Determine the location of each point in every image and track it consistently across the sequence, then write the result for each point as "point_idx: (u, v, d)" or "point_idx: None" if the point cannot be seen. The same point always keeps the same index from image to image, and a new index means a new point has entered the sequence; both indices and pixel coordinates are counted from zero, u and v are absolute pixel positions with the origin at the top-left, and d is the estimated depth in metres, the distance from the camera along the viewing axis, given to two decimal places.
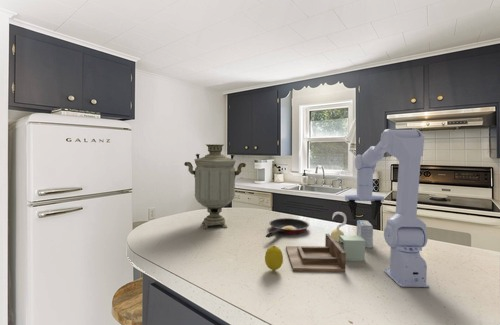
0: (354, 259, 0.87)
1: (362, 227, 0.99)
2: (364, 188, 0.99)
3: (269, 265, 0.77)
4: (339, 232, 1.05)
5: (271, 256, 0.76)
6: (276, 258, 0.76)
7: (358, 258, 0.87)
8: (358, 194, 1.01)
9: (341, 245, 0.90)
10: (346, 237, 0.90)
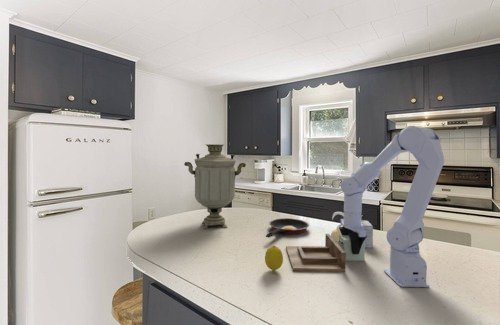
0: (354, 259, 0.87)
1: None
2: None
3: (269, 265, 0.77)
4: (339, 232, 1.05)
5: (271, 256, 0.76)
6: (276, 258, 0.76)
7: (358, 258, 0.87)
8: None
9: (341, 245, 0.90)
10: (346, 237, 0.90)
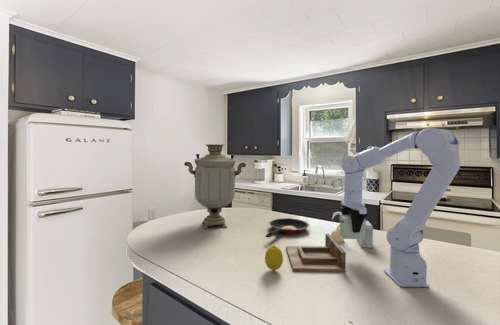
0: (355, 237, 0.87)
1: None
2: (344, 193, 0.89)
3: (269, 265, 0.77)
4: (339, 232, 1.05)
5: (271, 256, 0.76)
6: (276, 258, 0.76)
7: (359, 236, 0.87)
8: None
9: (342, 224, 0.89)
10: (347, 216, 0.89)
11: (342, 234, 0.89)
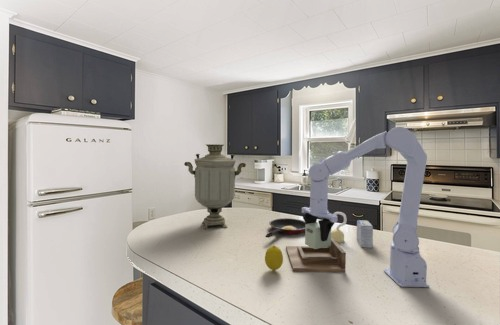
0: (323, 246, 0.85)
1: (362, 227, 0.99)
2: (310, 201, 0.86)
3: (269, 265, 0.77)
4: (339, 232, 1.05)
5: (271, 256, 0.76)
6: (276, 258, 0.76)
7: (326, 244, 0.86)
8: None
9: (309, 234, 0.86)
10: (313, 225, 0.87)
11: (310, 244, 0.86)
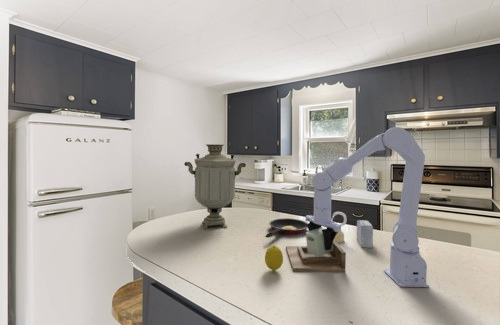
0: (325, 252, 0.85)
1: (362, 227, 0.99)
2: (314, 210, 0.87)
3: (269, 265, 0.77)
4: (339, 232, 1.05)
5: (271, 256, 0.76)
6: (276, 258, 0.76)
7: (328, 250, 0.86)
8: None
9: (311, 242, 0.85)
10: (313, 232, 0.86)
11: (313, 252, 0.85)
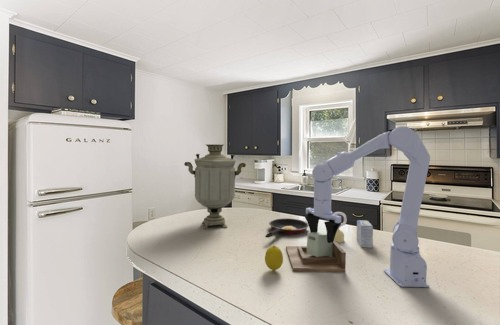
0: (325, 255, 0.85)
1: (362, 227, 0.99)
2: (314, 202, 0.86)
3: (269, 265, 0.77)
4: (339, 232, 1.05)
5: (271, 256, 0.76)
6: (276, 258, 0.76)
7: (327, 253, 0.86)
8: None
9: (312, 242, 0.86)
10: (315, 233, 0.88)
11: (312, 252, 0.85)
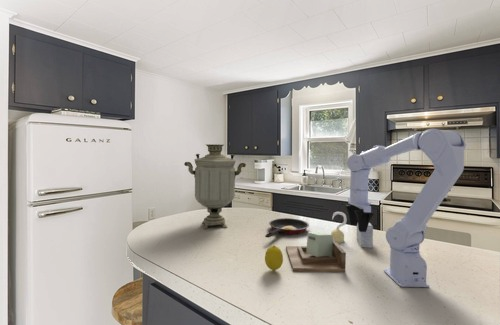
0: (324, 255, 0.85)
1: None
2: (350, 191, 0.90)
3: (269, 265, 0.77)
4: (339, 232, 1.05)
5: (271, 256, 0.76)
6: (276, 258, 0.76)
7: (327, 253, 0.86)
8: None
9: (312, 241, 0.86)
10: (315, 233, 0.88)
11: (312, 252, 0.85)
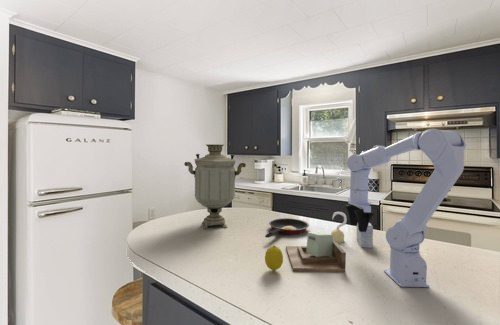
0: (324, 255, 0.85)
1: None
2: (350, 191, 0.90)
3: (269, 265, 0.77)
4: (339, 232, 1.05)
5: (271, 256, 0.77)
6: (276, 258, 0.76)
7: (327, 253, 0.86)
8: None
9: (312, 241, 0.86)
10: (315, 233, 0.88)
11: (312, 252, 0.85)
